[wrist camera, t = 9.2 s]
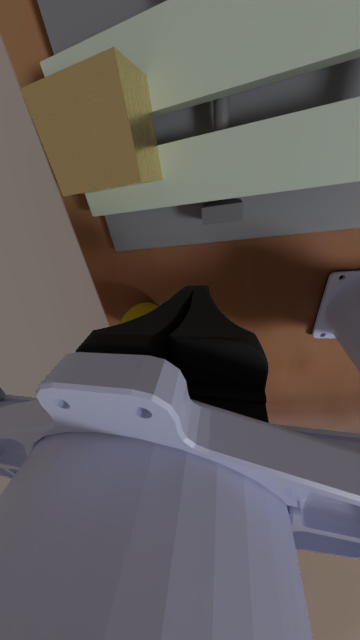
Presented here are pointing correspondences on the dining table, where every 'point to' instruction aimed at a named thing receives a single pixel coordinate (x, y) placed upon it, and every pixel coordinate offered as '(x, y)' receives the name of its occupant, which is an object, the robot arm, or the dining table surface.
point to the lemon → (138, 311)
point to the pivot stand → (245, 107)
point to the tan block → (96, 124)
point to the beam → (230, 78)
